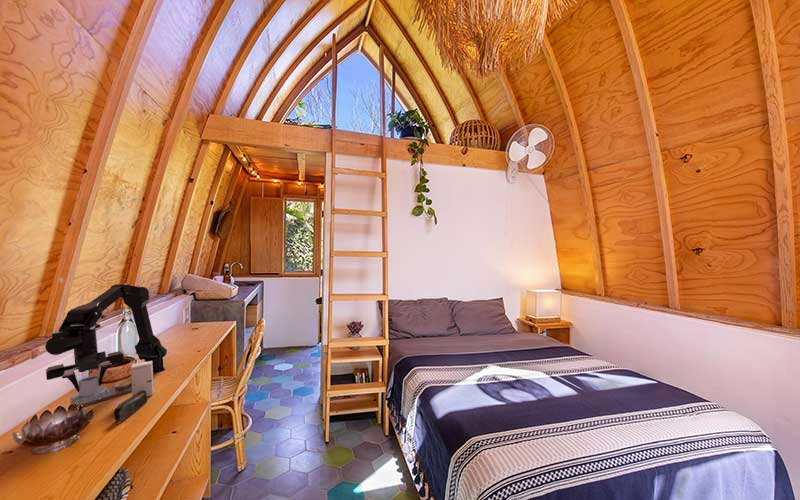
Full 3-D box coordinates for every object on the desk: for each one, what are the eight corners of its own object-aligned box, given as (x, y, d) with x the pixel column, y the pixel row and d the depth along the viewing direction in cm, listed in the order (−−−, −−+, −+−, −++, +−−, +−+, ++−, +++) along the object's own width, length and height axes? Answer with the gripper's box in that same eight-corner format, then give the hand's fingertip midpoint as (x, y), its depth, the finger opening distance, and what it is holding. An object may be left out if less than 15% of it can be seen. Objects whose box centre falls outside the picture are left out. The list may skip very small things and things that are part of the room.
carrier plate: (137, 380, 131) (136, 369, 131) (142, 388, 124) (142, 377, 123) (75, 398, 118) (74, 386, 118) (77, 408, 110) (76, 395, 110)
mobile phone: (139, 389, 112) (108, 410, 98) (148, 388, 113) (119, 409, 98) (139, 403, 113) (109, 426, 98) (149, 401, 113) (120, 424, 98)
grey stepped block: (106, 388, 114) (104, 370, 114) (109, 395, 108) (108, 377, 108) (70, 398, 108) (68, 380, 107) (71, 407, 102) (69, 387, 101)
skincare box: (132, 400, 114) (129, 367, 113) (134, 395, 118) (131, 364, 117) (153, 395, 117) (151, 363, 117) (154, 390, 121) (152, 359, 121)
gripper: (44, 358, 95) (48, 408, 96) (125, 341, 109) (128, 384, 110) (44, 350, 102) (48, 397, 103) (120, 335, 116) (123, 376, 117)
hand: (89, 388), depth 108 cm, fingers closed on grey stepped block, 5 cm apart
